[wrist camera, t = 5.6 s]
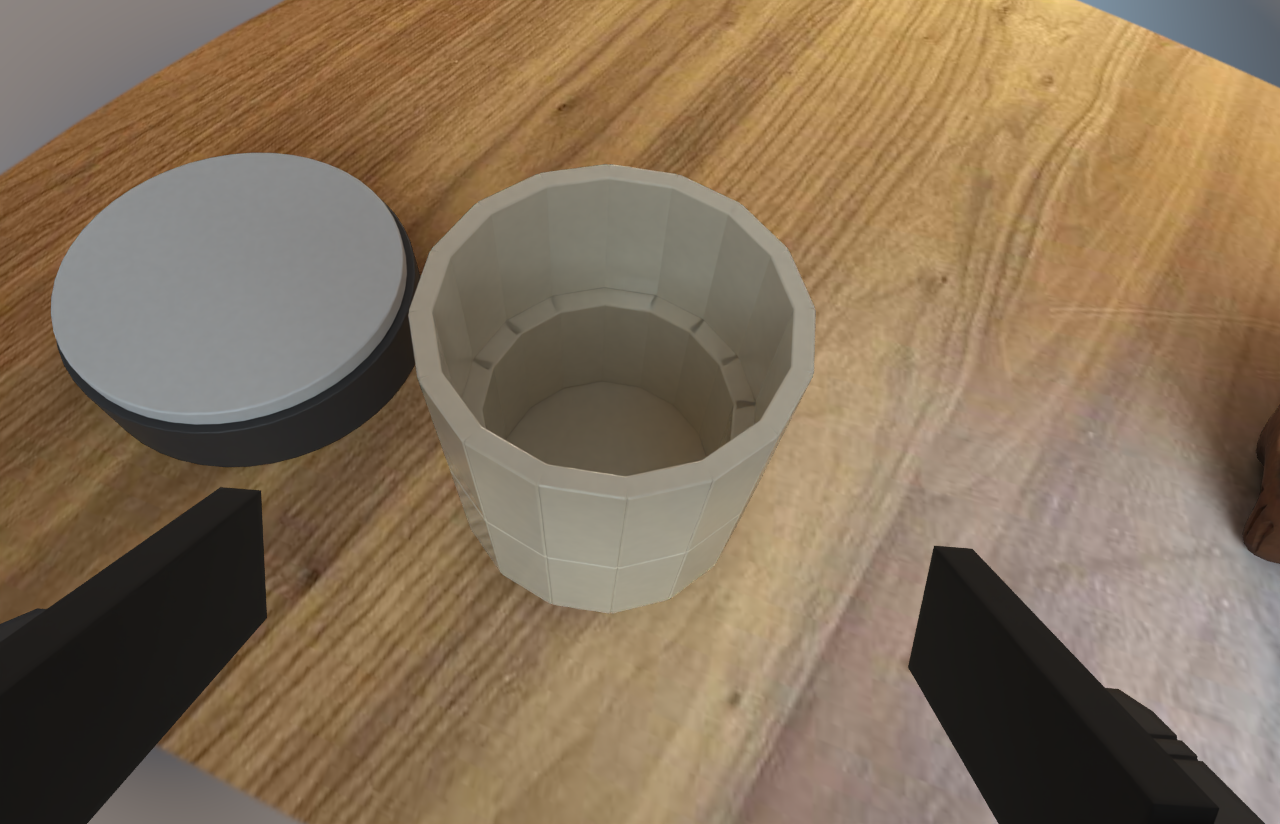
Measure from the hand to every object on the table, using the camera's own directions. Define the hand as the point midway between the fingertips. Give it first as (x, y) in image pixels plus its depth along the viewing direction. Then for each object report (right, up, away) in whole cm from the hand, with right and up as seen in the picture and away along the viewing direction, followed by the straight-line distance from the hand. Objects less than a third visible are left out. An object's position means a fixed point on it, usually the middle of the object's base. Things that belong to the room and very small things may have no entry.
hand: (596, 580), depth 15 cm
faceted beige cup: (0, +1, +14) cm, 14 cm away
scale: (-15, +7, +17) cm, 23 cm away
